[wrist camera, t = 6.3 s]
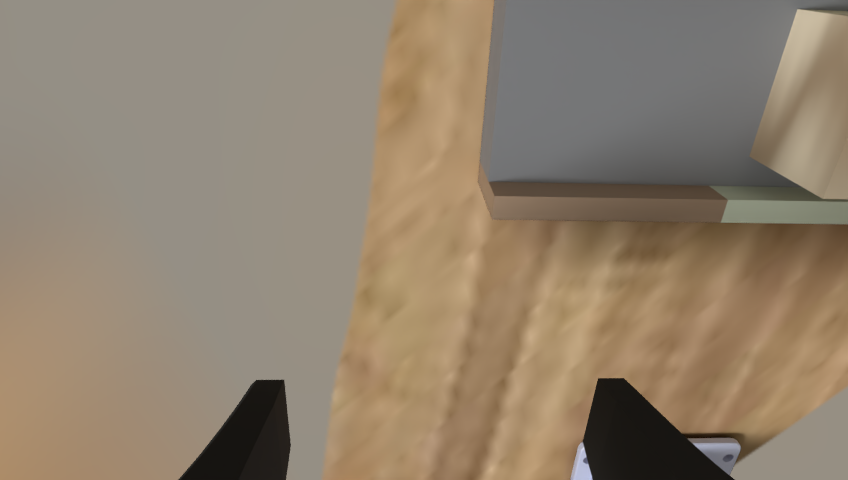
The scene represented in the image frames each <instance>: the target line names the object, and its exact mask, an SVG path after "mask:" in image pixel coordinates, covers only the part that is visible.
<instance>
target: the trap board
mask: <svg viewBox="0 0 848 480" xmlns="http://www.w3.org/2000/svg"><path fill="white" fill-rule="evenodd" d="M797 9H806V10H831V11H848V0H494V11H493V22H492V33H491V44H490V55H489V66H488V77H487V88H486V99H485V110H484V121H483V132H482V143H481V154H480V165H479V176H478V183H479V186H480V189H481V191H482V194H483V197H484V199H485V202H486V205H487V207H488V210H489V213H490V216H491V218H492V219H494V220H567V221H640V222H713V223H787V224H848V199H822V198H820V197H819V196H817V195H815V194H813V193H812V192H810V191H808V190H807V189H805V188H803V187H801V186H800V185H798V184H796V183H794V182H793V181H791V180H789V179H787V178H786V177H784V176H782V175H780V174H779V173H777V172H775V171H773V170H772V169H770V168H768V167H766V166H765V165H763V164H761V163H760V162H758V161H756V160H754V159H753V158H751V157H749V156H750V153H751V150H752V147H753V144H754V141H755V137H756V134H757V131H758V128H759V125H760V122H761V119H762V116H763V113H764V110H765V107H766V104H767V101H768V98H769V95H770V92H771V88H772V85H773V82H774V79H775V76H776V73H777V70H778V67H779V64H780V61H781V58H782V55H783V52H784V49H785V46H786V43H787V39H788V36H789V33H790V30H791V27H792V24H793V21H794V18H795V15H796V12H797Z"/></svg>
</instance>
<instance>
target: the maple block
mask: <svg viewBox="0 0 848 480" xmlns="http://www.w3.org/2000/svg"><path fill="white" fill-rule="evenodd" d="M749 157H751V158H753V159H754V160H756V161H758V162H760V163H761V164H763V165H765V166H766V167H768V168H770V169H772V170H773V171H775V172H777V173H779V174H780V175H782V176H784V177H786V178H787V179H789V180H791V181H793V182H794V183H796V184H798V185H800V186H801V187H803V188H805V189H807V190H808V191H810V192H812V193H813V194H815V195H817V196H819V197H820V198H822V199H848V11H831V10H806V9H797V12H796V15H795V18H794V21H793V24H792V27H791V30H790V33H789V36H788V39H787V43H786V46H785V49H784V52H783V55H782V58H781V61H780V64H779V67H778V70H777V73H776V76H775V79H774V82H773V85H772V88H771V92H770V95H769V98H768V101H767V104H766V107H765V110H764V113H763V116H762V119H761V122H760V125H759V128H758V131H757V134H756V137H755V141H754V144H753V147H752V150H751V153H750V156H749Z"/></svg>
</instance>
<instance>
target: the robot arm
mask: <svg viewBox="0 0 848 480" xmlns="http://www.w3.org/2000/svg"><path fill="white" fill-rule="evenodd" d="M290 446H291V444H290V434H289V424H288V414H287V404H286V395H285V384H284V380H256V381H255V382H254V383H253V384H252V385H251V386H250V388H249V389H248V391H247V392H246V394H245V395H244V397H243V398H242V400H241V401H240V402H239V404H238V405H237V407H236V408H235V410H234V411H233V412H232V414H231V415H230V416H229V418H228V419H227V421H226V422H225V423H224V425H223V426H222V427H221V429H220V430H219V431H218V432H217V434H216V435H215V436H214V438H213V439H212V440H211V441H210V443H209V444H208V445H207V447H206V448H205V449H204V450H203V452H202V453H201V454H200V455H199V457H198V458H197V459H196V460H195V461H194V462H193V464H192V465H191V466H190V467H189V468H188V469H187V471H186V472H185V473H184V474H183V475H182V476H181V477H180V479H179V480H286V475H287V468H288V461H289V453H290ZM740 450H741V446H740V444H739V443H738V441H737V440H736V439H734V438H686V437H685V436H684V435H683V434H682V433H681V432H680V431H678V430H677V429H676V428H675V427H674V426H673V425H672V424H671V423H670V422H669V421H668V420H667V419H666V418H665V417H664V416H663V415H662V414H661V413H660V412H658V411H657V410H656V409H655V408H654V407H653V406H652V405H651V404H650V403H649V402H648V401H647V400H646V399H645V398H644V397H643V396H642V395H641V394H640V393H639V392H638V391H637V390H636V389H635V388H634V387H633V386H631V385H630V384H629V383H628V382H627V381H626V380H625V379H624V378H598V381H597V385H596V389H595V394H594V398H593V402H592V406H591V410H590V414H589V418H588V423H587V427H586V431H585V435H584V439H583V442H582V443H580V444H579V446H578V450H577V454H576V458H575V462H574V466H573V471H572V475H571V479H570V480H734V479H733V478H732V477H731V476H730V473H731V471H732V469H733V467H734V464H735V462H736V460H737V457H738V455H739V453H740Z"/></svg>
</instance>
